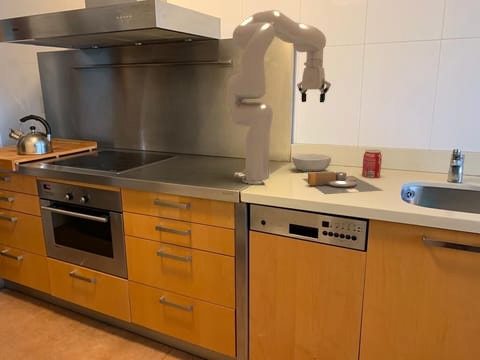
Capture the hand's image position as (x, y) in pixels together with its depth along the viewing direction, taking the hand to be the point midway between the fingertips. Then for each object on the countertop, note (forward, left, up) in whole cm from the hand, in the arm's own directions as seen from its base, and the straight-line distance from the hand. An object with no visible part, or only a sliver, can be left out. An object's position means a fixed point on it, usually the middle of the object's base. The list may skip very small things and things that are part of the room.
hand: (312, 102), depth 170 cm
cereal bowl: (-5, -15, -31) cm, 34 cm away
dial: (-9, -44, -28) cm, 53 cm away
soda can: (+13, -35, -30) cm, 48 cm away
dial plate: (-5, -44, -30) cm, 53 cm away
